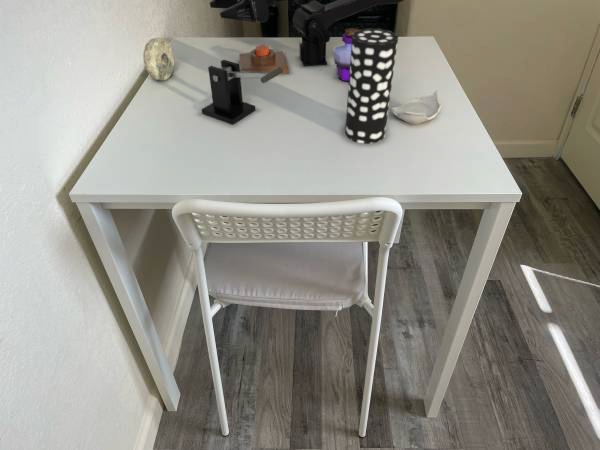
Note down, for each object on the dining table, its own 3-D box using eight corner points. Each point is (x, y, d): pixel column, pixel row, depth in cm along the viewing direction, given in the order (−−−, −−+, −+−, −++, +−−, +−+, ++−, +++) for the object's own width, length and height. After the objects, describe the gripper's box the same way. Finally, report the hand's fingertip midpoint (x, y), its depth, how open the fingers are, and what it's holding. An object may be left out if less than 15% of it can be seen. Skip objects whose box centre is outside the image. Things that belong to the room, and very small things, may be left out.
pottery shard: (429, 107, 105) (434, 87, 101) (449, 132, 97) (454, 110, 93) (386, 111, 104) (389, 90, 100) (402, 136, 95) (406, 114, 92)
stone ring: (158, 87, 113) (149, 47, 107) (146, 85, 114) (136, 45, 108) (180, 71, 120) (172, 32, 114) (168, 70, 121) (160, 31, 115)
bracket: (255, 110, 104) (252, 63, 97) (232, 124, 99) (227, 77, 92) (225, 100, 108) (220, 55, 101) (202, 114, 103) (194, 67, 96)
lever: (284, 76, 93) (281, 64, 91) (266, 86, 89) (263, 74, 87) (230, 74, 101) (227, 63, 99) (212, 84, 97) (208, 72, 96)
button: (268, 51, 122) (268, 44, 120) (270, 56, 119) (269, 49, 118) (255, 52, 121) (254, 45, 120) (256, 57, 118) (255, 50, 117)
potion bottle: (352, 88, 113) (356, 38, 105) (324, 78, 117) (326, 30, 109) (371, 76, 118) (376, 28, 110) (344, 68, 122) (347, 21, 114)
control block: (283, 59, 127) (282, 44, 124) (288, 73, 119) (287, 58, 117) (240, 61, 125) (238, 47, 123) (242, 76, 118) (240, 61, 115)
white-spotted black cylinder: (388, 127, 98) (401, 31, 85) (380, 146, 92) (393, 47, 79) (350, 121, 100) (358, 26, 87) (340, 139, 94) (347, 41, 81)
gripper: (255, -54, 111) (194, -36, 108) (283, -41, 97) (215, -19, 95) (265, -6, 118) (209, 13, 115) (293, 13, 105) (230, 34, 102)
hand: (215, 10), depth 107 cm, fingers open, 9 cm apart
